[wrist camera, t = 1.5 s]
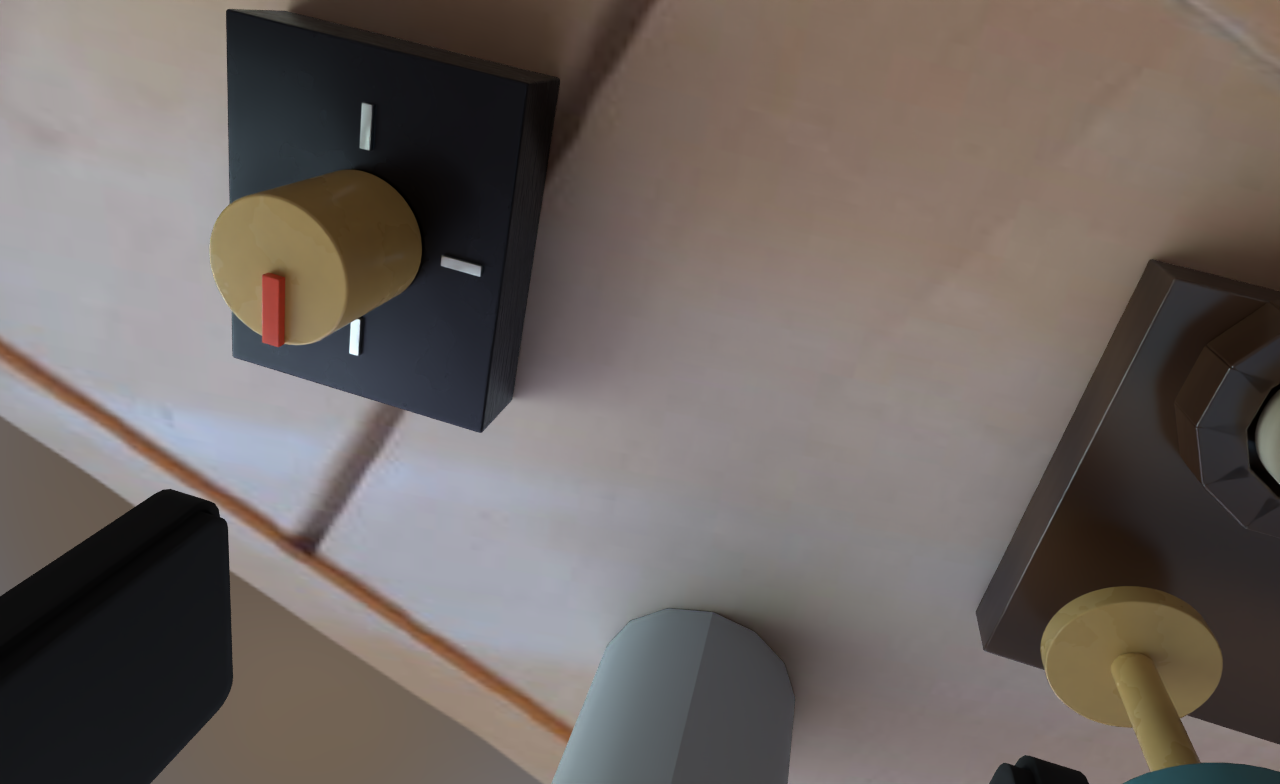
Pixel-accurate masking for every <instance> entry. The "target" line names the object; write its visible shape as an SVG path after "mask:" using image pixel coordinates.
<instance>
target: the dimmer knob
mask: <svg viewBox="0 0 1280 784" xmlns="http://www.w3.org/2000/svg"><path fill="white" fill-rule="evenodd" d="M209 255H210V264H211V269H212V273H213V276H214V279H215V282H216V285H217V287H218V289H219V291H220V293H221V295H222V297H223V299H224V300H225V302H226V303H227V305H228V306H229V307H230V309H231V310H232V311H233V312H234V314H235V315H236V316H237V317H238V318H239V319H240V320H241V321H242V322H243V323H244V324H246V325H247V326H248V327H249V328H251V329H252V330H253V331H255V332H256V333H258V334H260V335H261V336H262V342H263V343H266V344H269V345H273V346H276V347H280V346H282V345H284V344H289V345H306V344H311V343H314V342H317V341H320V340H322V339H323V338H325V337H327V336H329V335H330V334H332V333H334V332H335V331H337V330H339V329H341V328H342V327H344V326H346V325H348V324H349V323H351V322H353V321H354V320H356V319H358V318H360V317H361V316H363V315H365V314H366V313H368V312H370V311H372V310H373V309H375V308H377V307H378V306H380V305H382V304H384V303H385V302H387V301H389V300H390V299H392V298H394V297H396V296H397V295H399V294H401V293H402V292H403V291H404V290H406V289H407V287H408V286H409V285H410V284H411V283H412V281H413V280H414V278H415V276H416V274H417V272H418V269H419V266H420V262H421V256H422V242H421V235H420V230H419V227H418V224H417V221H416V218H415V216H414V214H413V212H412V210H411V209H410V207H409V205H408V204H407V202H406V201H405V200H404V198H403V197H402V196H401V195H400V194H399V193H398V192H397V191H396V190H395V189H394V188H393V187H392V186H391V185H389V184H388V183H387V182H385V181H384V180H382V179H381V178H379V177H376V176H374V175H372V174H370V173H367V172H364V171H359V170H348V169H347V170H339V171H335V172H331V173H328V174H324V175H320V176H317V177H313V178H309V179H306V180H302V181H298V182H295V183H291V184H287V185H284V186H280V187H277V188H273V189H269V190H266V191H262V192H258V193H255V194H251V195H247V196H244V197H241V198H239V199H237V200H235V201H234V202H232V203H231V204H229V205H228V206H227V207H226V208H225V209H224V210H223V211H222V213H221V214H220V216H219V217H218V218H217V220H216V223H215V225H214V227H213V230H212V233H211V238H210V247H209Z"/></svg>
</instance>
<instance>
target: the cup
mask: <svg viewBox="0 0 1280 784" xmlns="http://www.w3.org/2000/svg"><path fill="white" fill-rule="evenodd" d="M794 706H795V697H794V694H793V690H792V687H791V684H790V680H789V677H788V673H787V670H786V667H785V663H784V662H783V661H782V660H781V659H780V658H779V657H778V656H777V655H776V654H775V653H774V652H773V651H772V650H771V648H770V647H769V646H768V645H767V644H766V643H765V642H764V641H763V640H762V639H761V638H760V637H759V636H758V635H757V634H756V633H755V632H754V631H752V630H750V629H748V628H746V627H743V626H741V625H739V624H737V623H735V622H733V621H731V620H729V619H726V618H724V617H722V616H720V615H718V614H716V613H714V612H706V611H694V610H682V609H670V608H667V609H664V610H661V611H658V612H655V613H652V614H649V615H646V616H643V617H640V618H637V619H634V620H631V621H630V622H629V623H628V624H627V625H626V626H625V627H624V628H623V629H622V630H621V631H620V632H619V633H618V635H617V636H616V637H615V638H614V639H613V640H612V641H611V642H610V643H609V644H608V645H607V647H606V650H605V652H604V654H603V657H602V659H601V662H600V664H599V667H598V669H597V672H596V674H595V677H594V679H593V682H592V684H591V687H590V689H589V692H588V694H587V697H586V699H585V702H584V704H583V707H582V709H581V712H580V714H579V717H578V719H577V722H576V724H575V727H574V729H573V731H572V734H571V736H570V739H569V741H568V744H567V746H566V749H565V751H564V754H563V756H562V759H561V761H560V764H559V766H558V769H557V771H556V774H555V776H554V779H553V781H552V784H788V773H789V762H790V751H791V740H792V729H793V718H794Z"/></svg>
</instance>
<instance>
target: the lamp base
mask: <svg viewBox="0 0 1280 784" xmlns="http://www.w3.org/2000/svg"><path fill="white" fill-rule="evenodd" d="M1279 389H1280V291H1277V290H1273V289H1269V288H1265V287H1261V286H1257V285H1253V284H1249V283H1245V282H1241V281H1237V280H1233V279H1229V278H1225V277H1221V276H1217V275H1213V274H1209V273H1205V272H1201V271H1197V270H1193V269H1189V268H1185V267H1181V266H1177V265H1173V264H1169V263H1165V262H1161V261H1157V260H1153V259H1151V260H1150V261H1149V262H1148V264H1147V266H1146V268H1145V271H1144V273H1143V275H1142V277H1141V279H1140V281H1139V283H1138V285H1137V287H1136V289H1135V291H1134V293H1133V295H1132V297H1131V299H1130V301H1129V303H1128V305H1127V307H1126V309H1125V311H1124V313H1123V315H1122V317H1121V319H1120V321H1119V323H1118V325H1117V327H1116V329H1115V331H1114V333H1113V335H1112V337H1111V339H1110V341H1109V343H1108V345H1107V347H1106V349H1105V351H1104V354H1103V356H1102V358H1101V360H1100V362H1099V364H1098V366H1097V368H1096V370H1095V372H1094V374H1093V376H1092V378H1091V380H1090V382H1089V384H1088V386H1087V388H1086V390H1085V392H1084V394H1083V396H1082V398H1081V400H1080V402H1079V404H1078V406H1077V408H1076V410H1075V412H1074V414H1073V416H1072V418H1071V420H1070V422H1069V424H1068V426H1067V428H1066V430H1065V432H1064V434H1063V436H1062V439H1061V441H1060V443H1059V445H1058V447H1057V449H1056V451H1055V453H1054V455H1053V457H1052V459H1051V461H1050V463H1049V465H1048V467H1047V469H1046V471H1045V473H1044V475H1043V477H1042V479H1041V481H1040V483H1039V485H1038V487H1037V489H1036V491H1035V493H1034V495H1033V497H1032V499H1031V501H1030V503H1029V505H1028V507H1027V509H1026V511H1025V513H1024V515H1023V517H1022V519H1021V522H1020V524H1019V526H1018V528H1017V530H1016V532H1015V534H1014V536H1013V538H1012V540H1011V542H1010V544H1009V546H1008V548H1007V550H1006V552H1005V554H1004V556H1003V558H1002V560H1001V562H1000V564H999V566H998V568H997V570H996V572H995V574H994V576H993V578H992V580H991V582H990V584H989V586H988V588H987V590H986V592H985V594H984V596H983V598H982V600H981V602H980V604H979V607H978V609H977V611H976V616H977V621H978V626H979V630H980V635H981V640H982V645H983V650H984V651H986V652H989V653H992V654H995V655H998V656H1002V657H1005V658H1008V659H1011V660H1014V661H1017V662H1021V663H1024V664H1027V665H1030V666H1033V667H1036V668H1040V669H1043V670H1045V669H1044V666H1043V662H1042V659H1041V651H1040V649H1041V640H1042V636H1043V633H1044V631H1045V629H1046V626H1047V625H1048V623H1049V622H1050V620H1051V619H1052V617H1053V616H1054V615H1055V614H1056V613H1057V612H1058V611H1059V610H1060V609H1061V608H1063V607H1064V606H1065V605H1066V604H1068V603H1069V602H1071V601H1072V600H1074V599H1076V598H1078V597H1080V596H1082V595H1084V594H1087V593H1090V592H1092V591H1096V590H1100V589H1104V588H1110V587H1118V586H1139V587H1146V588H1152V589H1156V590H1160V591H1163V592H1166V593H1169V594H1171V595H1173V596H1175V597H1177V598H1179V599H1181V600H1183V601H1184V602H1186V603H1188V604H1189V605H1191V606H1192V607H1193V608H1194V609H1195V610H1196V611H1197V612H1198V613H1199V614H1200V615H1201V616H1202V617H1203V618H1204V620H1205V621H1206V623H1207V625H1208V626H1209V628H1210V630H1211V631H1212V633H1213V635H1214V636H1215V638H1216V640H1217V641H1218V644H1219V646H1220V649H1221V652H1222V657H1223V669H1222V675H1221V678H1220V681H1219V684H1218V686H1217V687H1216V689H1215V691H1214V692H1213V694H1212V695H1211V696H1210V697H1209V699H1208V700H1207V701H1206V702H1204V703H1203V704H1202V705H1201V706H1200V707H1199V708H1197V709H1196V710H1194V711H1193V712H1191V713H1189V714H1188V716H1191V717H1195V718H1198V719H1201V720H1204V721H1207V722H1210V723H1214V724H1217V725H1220V726H1223V727H1226V728H1229V729H1233V730H1236V731H1239V732H1242V733H1245V734H1248V735H1252V736H1255V737H1258V738H1261V739H1264V740H1267V741H1270V742H1274V743H1277V744H1280V484H1279V483H1278V482H1277V481H1276V480H1275V479H1274V478H1273V477H1272V476H1271V474H1270V473H1269V472H1268V471H1267V470H1266V469H1265V467H1264V466H1263V465H1262V463H1261V461H1260V459H1259V457H1258V454H1257V451H1256V446H1255V430H1256V425H1257V422H1258V419H1259V416H1260V414H1261V412H1262V410H1263V408H1264V407H1265V405H1266V404H1267V402H1268V401H1269V400H1270V398H1271V397H1272V396H1273V395H1274V394H1275V393H1276V392H1277V391H1278V390H1279Z"/></svg>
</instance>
